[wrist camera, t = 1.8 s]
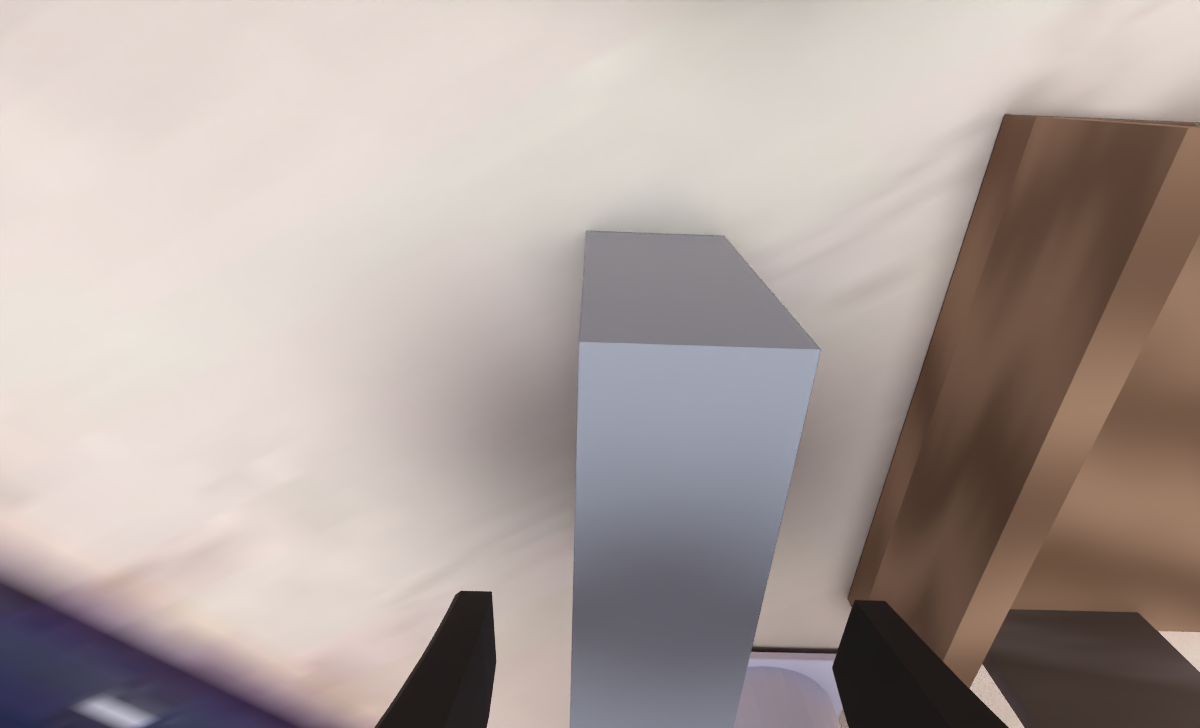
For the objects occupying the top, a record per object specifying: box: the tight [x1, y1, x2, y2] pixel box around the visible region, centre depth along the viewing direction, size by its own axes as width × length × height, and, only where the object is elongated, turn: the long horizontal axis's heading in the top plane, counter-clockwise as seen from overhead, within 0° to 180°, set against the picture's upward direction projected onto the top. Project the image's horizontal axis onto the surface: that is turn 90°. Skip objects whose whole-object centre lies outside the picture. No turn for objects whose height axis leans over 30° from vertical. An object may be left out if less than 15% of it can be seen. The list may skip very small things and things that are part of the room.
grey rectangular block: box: [570, 231, 821, 728], centre depth 16 cm, size 4×12×8 cm, turn 178°
